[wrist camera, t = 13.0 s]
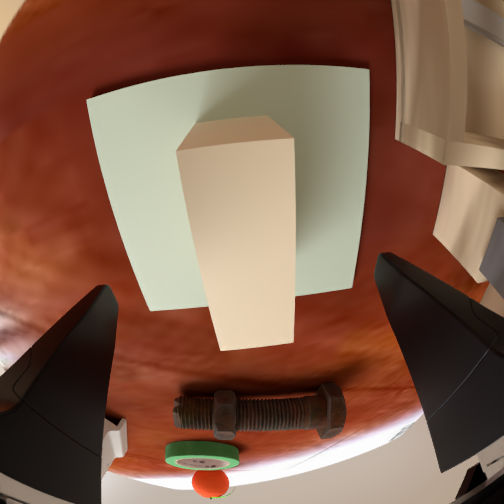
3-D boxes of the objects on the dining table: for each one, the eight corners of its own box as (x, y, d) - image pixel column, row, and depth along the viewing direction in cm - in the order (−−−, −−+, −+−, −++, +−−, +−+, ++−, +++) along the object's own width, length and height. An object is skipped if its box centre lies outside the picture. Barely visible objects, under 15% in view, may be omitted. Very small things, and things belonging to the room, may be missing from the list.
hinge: (127, 449, 36) (103, 492, 27) (103, 435, 36) (78, 476, 27) (126, 418, 27) (88, 480, 19) (93, 398, 27) (53, 455, 19)
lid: (359, 69, 11) (440, 74, 6) (346, 277, 18) (382, 351, 13) (95, 97, 10) (18, 120, 5) (152, 299, 17) (135, 380, 12)
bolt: (177, 374, 25) (330, 374, 26) (180, 414, 25) (323, 413, 27) (167, 407, 19) (352, 404, 20) (172, 450, 19) (340, 446, 21)
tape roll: (251, 443, 34) (252, 459, 32) (221, 459, 40) (222, 472, 37) (176, 434, 31) (175, 451, 29) (159, 450, 36) (158, 464, 34)
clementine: (235, 463, 41) (237, 497, 35) (232, 470, 45) (234, 500, 39) (190, 462, 40) (191, 496, 34) (192, 469, 44) (193, 499, 38)
